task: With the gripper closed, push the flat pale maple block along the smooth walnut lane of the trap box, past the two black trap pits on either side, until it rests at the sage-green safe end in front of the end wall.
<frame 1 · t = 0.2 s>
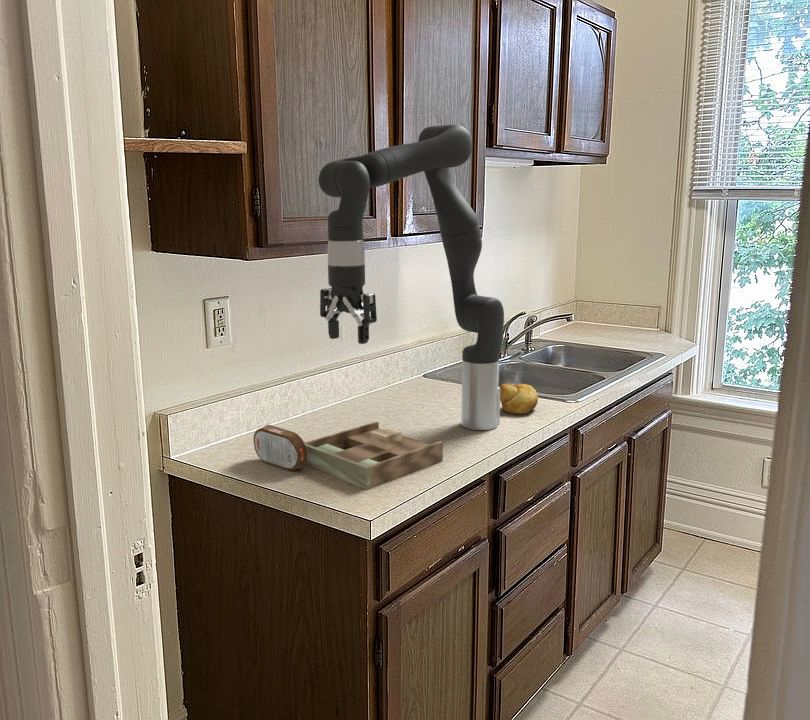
hand: (348, 340, 158), 28 cm above the worktop, fingers open, 8 cm apart
maple block: (386, 444, 171), point 3 cm above the worktop, touching trap box
tin: (279, 466, 167), on the worktop
bread roll: (520, 410, 208), on the worktop
trap box: (373, 461, 169), on the worktop
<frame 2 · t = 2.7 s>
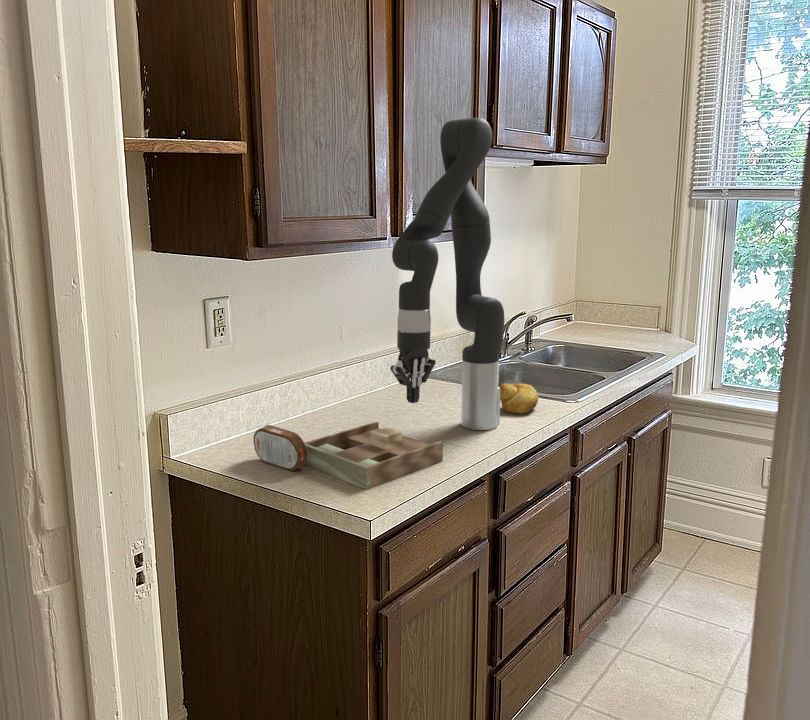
hand: (412, 402, 175), 11 cm above the worktop, fingers closed
nothing on the worktop moved.
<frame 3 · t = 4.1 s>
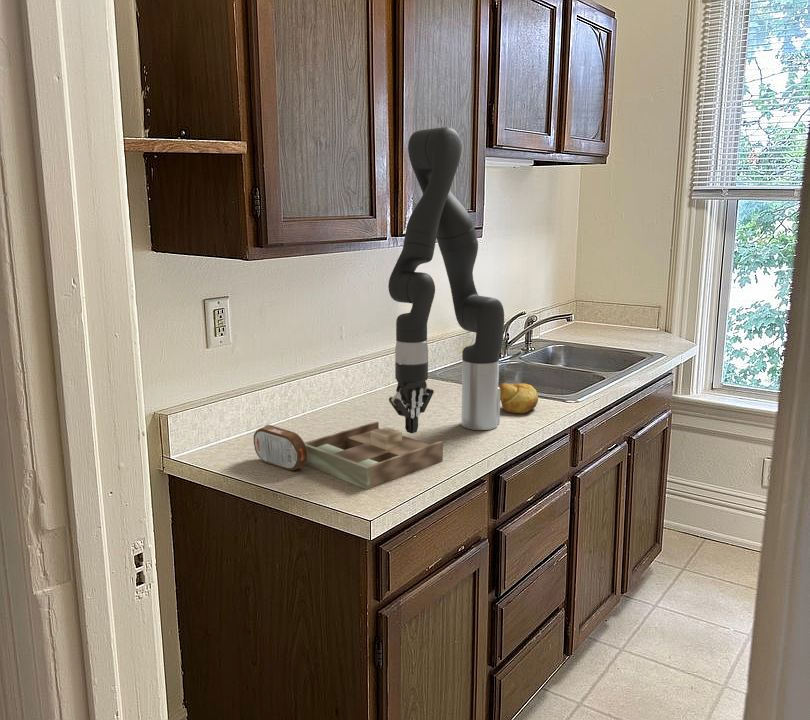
hand: (411, 432, 176), 4 cm above the worktop, fingers closed
nothing on the worktop moved.
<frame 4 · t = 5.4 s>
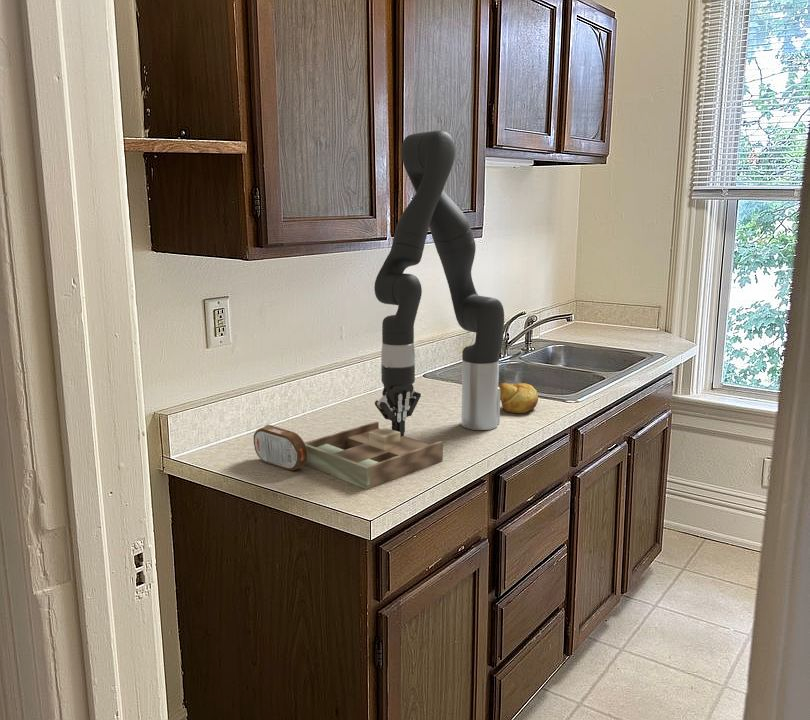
hand: (398, 436, 173), 4 cm above the worktop, fingers closed
nothing on the worktop moved.
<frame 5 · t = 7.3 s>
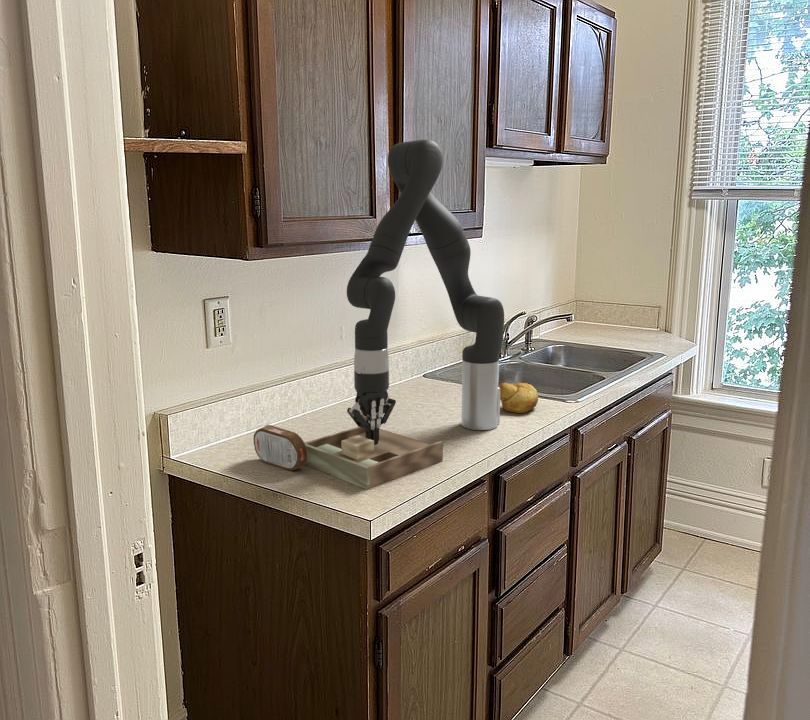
hand: (372, 444, 168), 4 cm above the worktop, fingers closed
maple block: (357, 453, 165), point 3 cm above the worktop, touching trap box
everything else where it was.
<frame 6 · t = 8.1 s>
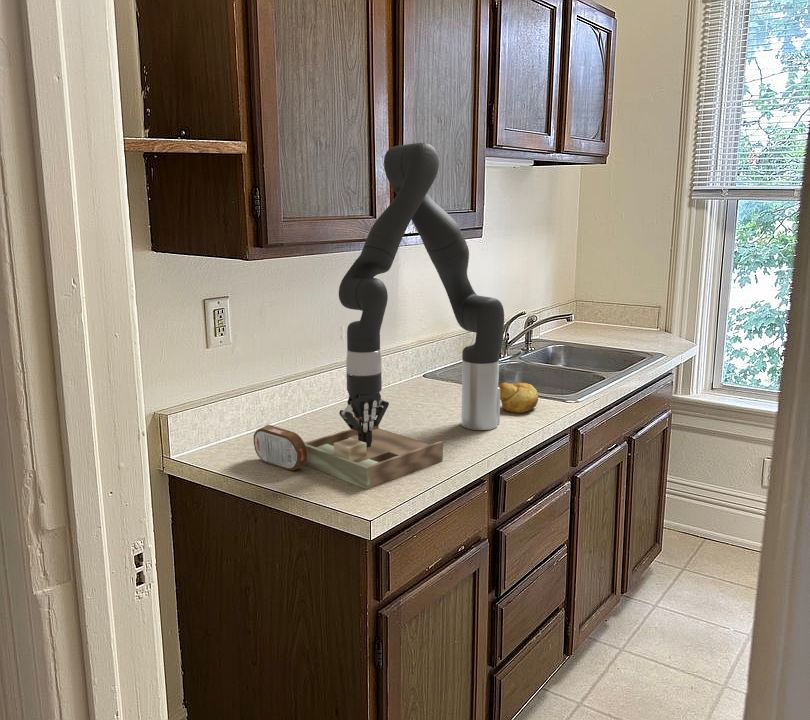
hand: (365, 446, 166), 4 cm above the worktop, fingers closed
maple block: (350, 456, 163), point 3 cm above the worktop, touching gripper, trap box
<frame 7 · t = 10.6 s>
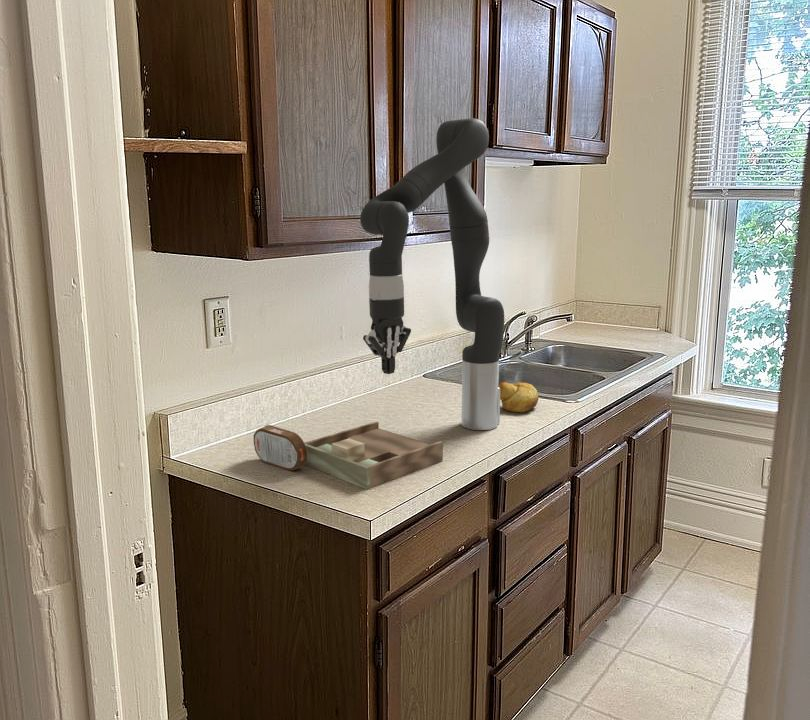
hand: (388, 373, 168), 19 cm above the worktop, fingers closed
maple block: (348, 456, 163), point 3 cm above the worktop, touching trap box
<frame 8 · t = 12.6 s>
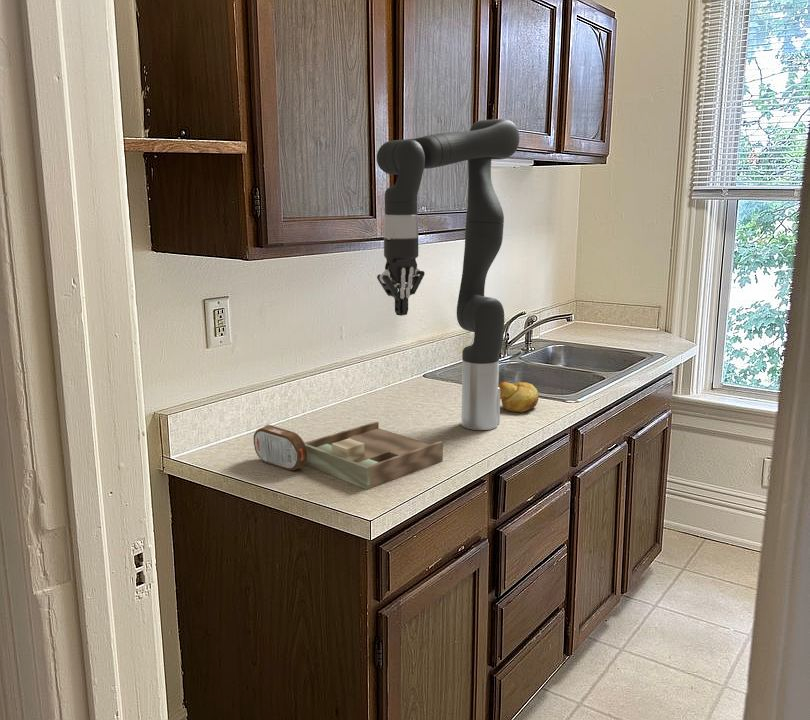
hand: (401, 314, 168), 32 cm above the worktop, fingers closed
at the end: maple block 0.1 cm from the target spot on the trap box, point 3.0 cm above the trap box's base; maple block tilted 0°; the gripper is holding nothing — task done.
